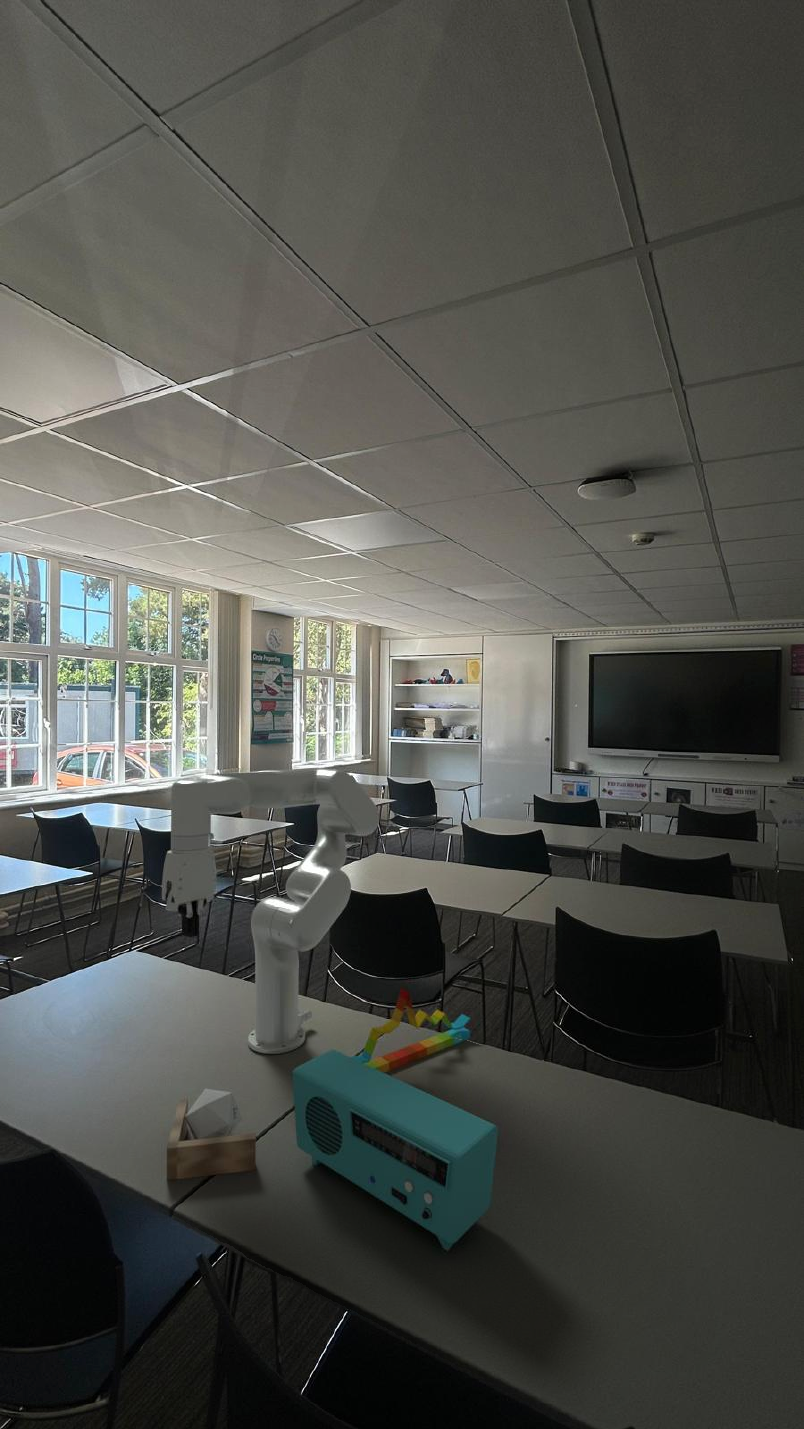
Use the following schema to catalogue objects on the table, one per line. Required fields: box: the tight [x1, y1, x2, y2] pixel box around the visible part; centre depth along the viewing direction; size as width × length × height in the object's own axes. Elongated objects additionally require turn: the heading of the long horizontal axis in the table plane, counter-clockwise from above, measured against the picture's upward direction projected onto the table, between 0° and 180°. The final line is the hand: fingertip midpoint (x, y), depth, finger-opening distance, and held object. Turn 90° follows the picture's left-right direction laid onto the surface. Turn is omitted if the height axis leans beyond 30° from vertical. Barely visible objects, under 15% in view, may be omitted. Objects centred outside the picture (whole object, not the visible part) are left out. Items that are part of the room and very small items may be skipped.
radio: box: [291, 1049, 499, 1251], centre depth 102 cm, size 34×10×15 cm, turn 50°
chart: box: [350, 988, 471, 1074], centre depth 143 cm, size 30×3×15 cm, turn 128°
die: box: [185, 1088, 243, 1140], centre depth 115 cm, size 8×9×10 cm
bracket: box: [166, 1098, 257, 1181], centre depth 109 cm, size 11×19×5 cm, turn 56°
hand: (190, 935), depth 133 cm, fingers closed
